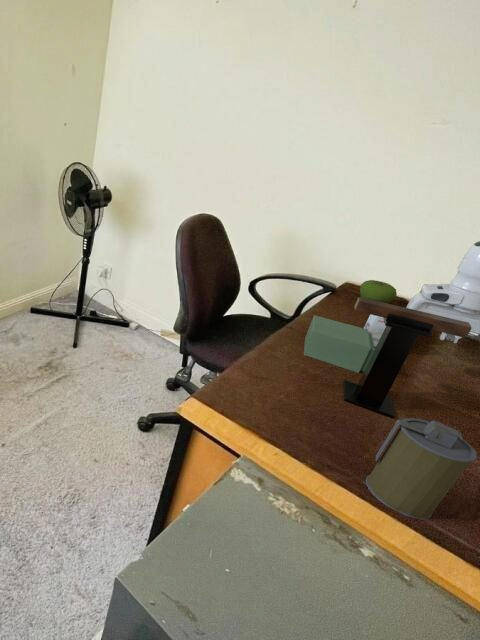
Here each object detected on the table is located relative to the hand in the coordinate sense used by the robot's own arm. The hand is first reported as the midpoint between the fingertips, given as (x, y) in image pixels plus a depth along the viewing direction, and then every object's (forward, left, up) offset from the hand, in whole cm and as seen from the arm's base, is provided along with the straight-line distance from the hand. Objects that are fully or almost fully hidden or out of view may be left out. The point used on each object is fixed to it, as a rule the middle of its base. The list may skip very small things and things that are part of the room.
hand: (447, 340), depth 114 cm
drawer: (+18, 0, -14) cm, 23 cm away
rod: (+14, +20, +11) cm, 26 cm away
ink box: (+10, -16, -15) cm, 24 cm away
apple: (+9, -55, -16) cm, 58 cm away
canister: (+11, +55, -15) cm, 58 cm away
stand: (+14, +20, -15) cm, 29 cm away
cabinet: (+22, 0, -15) cm, 26 cm away
